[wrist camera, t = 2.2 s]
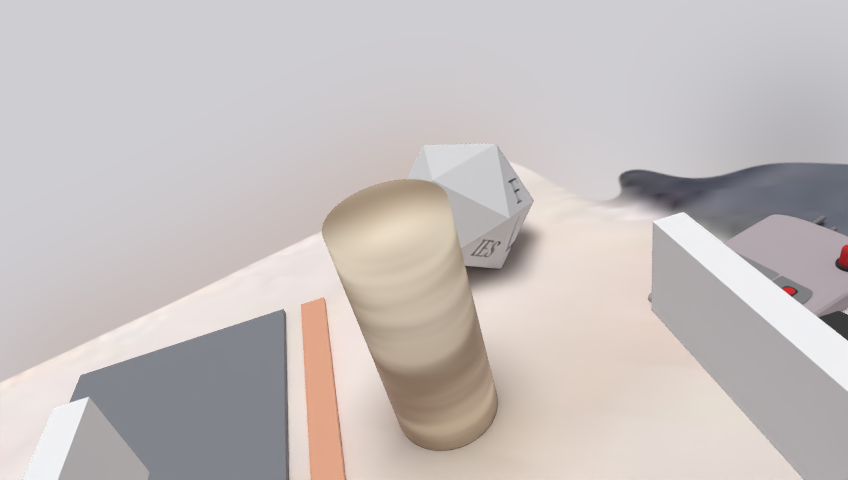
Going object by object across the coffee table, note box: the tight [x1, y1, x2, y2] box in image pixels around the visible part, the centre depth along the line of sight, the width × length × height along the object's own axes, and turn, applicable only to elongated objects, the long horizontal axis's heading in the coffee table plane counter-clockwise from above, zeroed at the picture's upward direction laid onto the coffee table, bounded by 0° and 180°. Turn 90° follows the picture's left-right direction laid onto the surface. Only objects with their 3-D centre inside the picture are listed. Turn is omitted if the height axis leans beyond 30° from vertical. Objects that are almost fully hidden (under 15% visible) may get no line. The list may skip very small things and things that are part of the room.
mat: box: [70, 309, 289, 480], centre depth 30 cm, size 20×14×1 cm
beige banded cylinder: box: [322, 179, 498, 451], centre depth 26 cm, size 5×5×12 cm
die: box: [407, 144, 534, 269], centre depth 37 cm, size 8×9×10 cm
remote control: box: [648, 215, 848, 317], centre depth 30 cm, size 7×16×3 cm, turn 117°
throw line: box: [301, 297, 346, 480], centre depth 30 cm, size 20×2×1 cm, turn 12°
